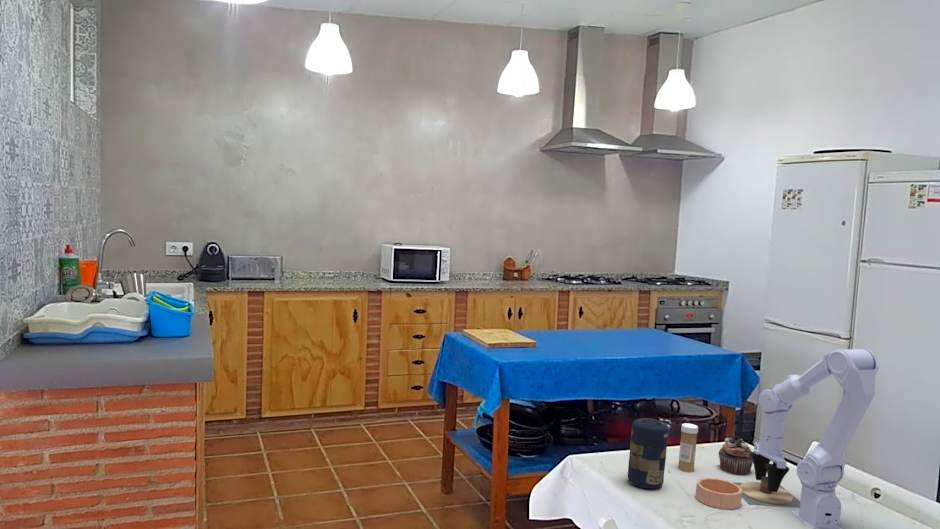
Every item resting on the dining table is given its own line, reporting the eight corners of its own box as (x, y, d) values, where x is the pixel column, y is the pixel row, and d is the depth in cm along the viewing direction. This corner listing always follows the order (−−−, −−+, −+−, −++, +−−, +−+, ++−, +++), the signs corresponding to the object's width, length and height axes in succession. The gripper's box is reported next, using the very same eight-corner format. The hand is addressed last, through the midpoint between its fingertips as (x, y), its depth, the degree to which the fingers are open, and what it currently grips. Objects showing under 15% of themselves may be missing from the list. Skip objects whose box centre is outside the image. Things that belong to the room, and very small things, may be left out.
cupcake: (758, 479, 201) (761, 444, 201) (723, 476, 201) (727, 442, 201) (745, 467, 211) (748, 434, 210) (712, 464, 211) (715, 431, 210)
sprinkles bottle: (697, 472, 203) (701, 426, 202) (686, 475, 200) (691, 428, 199) (684, 467, 207) (688, 421, 206) (673, 469, 204) (678, 423, 203)
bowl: (747, 513, 177) (748, 495, 176) (704, 510, 176) (706, 493, 176) (730, 496, 187) (731, 479, 187) (690, 493, 187) (691, 477, 187)
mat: (807, 510, 181) (807, 507, 181) (749, 506, 180) (749, 504, 180) (780, 487, 196) (780, 485, 196) (726, 484, 195) (726, 482, 195)
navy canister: (633, 474, 198) (639, 411, 196) (667, 483, 193) (673, 418, 192) (622, 484, 189) (627, 418, 188) (657, 494, 185) (663, 426, 183)
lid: (801, 506, 182) (803, 489, 182) (751, 503, 181) (753, 486, 181) (778, 486, 195) (780, 471, 195) (731, 483, 194) (733, 468, 194)
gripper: (745, 425, 194) (740, 474, 195) (769, 443, 180) (763, 495, 181) (770, 427, 194) (765, 475, 195) (796, 444, 180) (790, 497, 181)
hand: (766, 485), depth 188 cm, fingers open, 7 cm apart
